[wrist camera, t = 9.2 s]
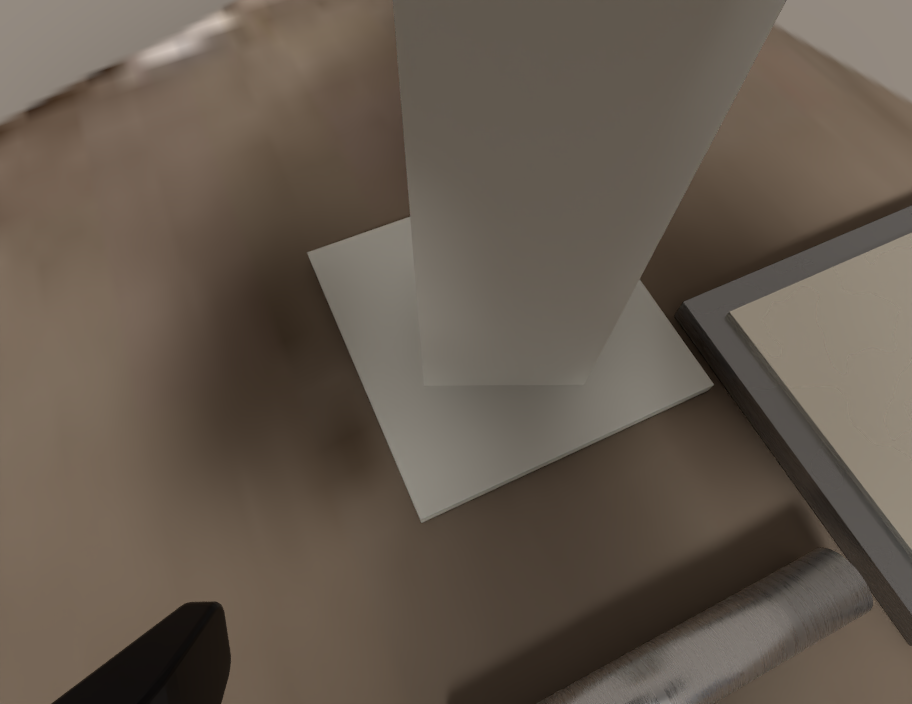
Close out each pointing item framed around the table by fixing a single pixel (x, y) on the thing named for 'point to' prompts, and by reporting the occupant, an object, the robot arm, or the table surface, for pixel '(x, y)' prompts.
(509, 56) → the block
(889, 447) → the case base
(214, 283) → the table surface
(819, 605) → the rod
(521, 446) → the case lid
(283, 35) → the table surface
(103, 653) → the table surface
